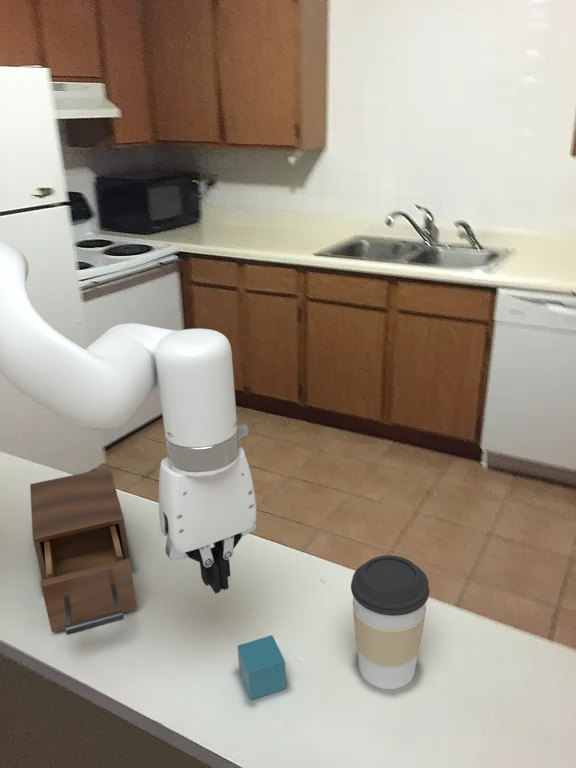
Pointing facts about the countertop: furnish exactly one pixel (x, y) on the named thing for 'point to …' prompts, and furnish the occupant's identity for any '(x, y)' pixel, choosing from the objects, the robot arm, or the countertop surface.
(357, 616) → the coffee cup
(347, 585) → the countertop surface
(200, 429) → the robot arm
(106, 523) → the cabinet
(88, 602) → the drawer
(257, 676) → the block
